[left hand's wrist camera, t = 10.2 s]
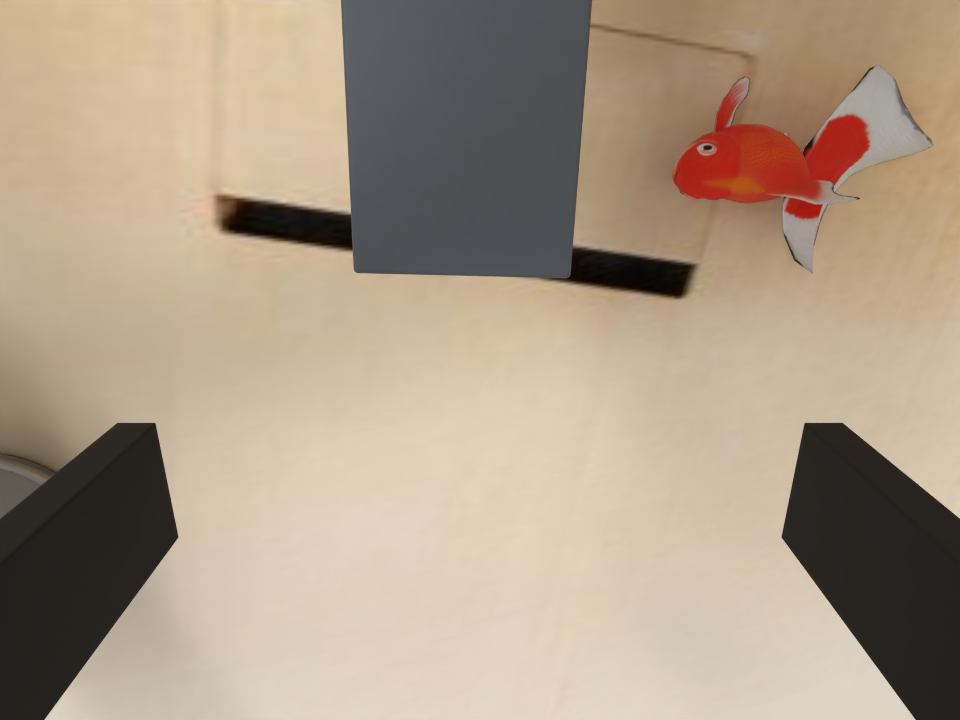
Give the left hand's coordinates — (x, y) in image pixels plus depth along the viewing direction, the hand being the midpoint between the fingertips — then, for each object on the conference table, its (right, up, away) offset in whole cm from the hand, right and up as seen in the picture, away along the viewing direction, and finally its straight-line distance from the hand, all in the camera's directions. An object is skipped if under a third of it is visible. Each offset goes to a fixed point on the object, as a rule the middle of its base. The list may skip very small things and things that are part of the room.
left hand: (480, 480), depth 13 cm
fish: (+19, +16, +27) cm, 36 cm away
